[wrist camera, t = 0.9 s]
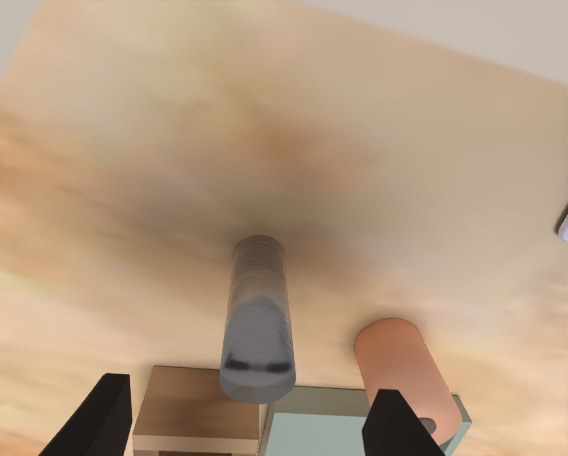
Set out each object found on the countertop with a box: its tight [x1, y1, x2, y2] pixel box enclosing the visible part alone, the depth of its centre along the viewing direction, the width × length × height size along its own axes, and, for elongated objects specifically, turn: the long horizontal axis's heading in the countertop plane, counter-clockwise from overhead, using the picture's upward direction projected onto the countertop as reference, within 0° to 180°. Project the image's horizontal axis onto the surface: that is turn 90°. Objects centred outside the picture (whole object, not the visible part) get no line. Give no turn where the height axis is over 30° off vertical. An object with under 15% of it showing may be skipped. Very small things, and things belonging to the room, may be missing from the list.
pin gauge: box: [219, 236, 296, 404], centre depth 14 cm, size 2×2×7 cm
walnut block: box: [132, 366, 259, 456], centre depth 21 cm, size 6×6×4 cm
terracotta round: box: [354, 319, 462, 446], centre depth 19 cm, size 4×4×5 cm
